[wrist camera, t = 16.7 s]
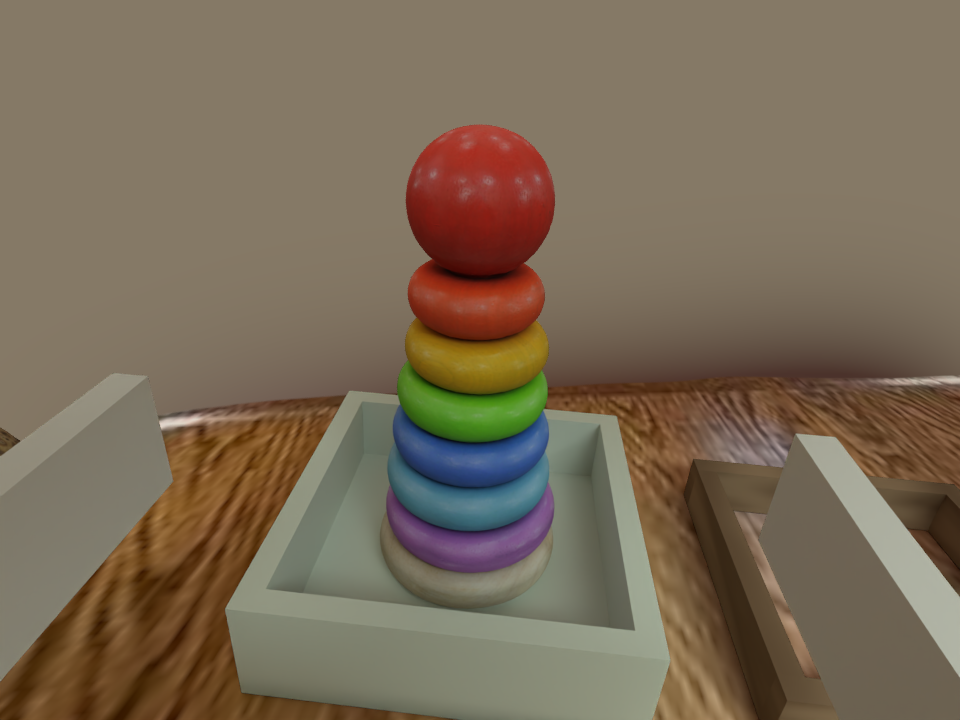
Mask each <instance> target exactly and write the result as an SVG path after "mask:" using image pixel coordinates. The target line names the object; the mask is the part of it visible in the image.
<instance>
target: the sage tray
mask: <svg viewBox="0 0 960 720" xmlns="http://www.w3.org/2000/svg"><path fill="white" fill-rule="evenodd" d="M399 405H400V402H399V398H398V395H391V394H380V393H370V392H359V391H349V392H348V394H347V396H346V397H345V399H344V401H343V403H342V404H341V406H340V408H339V410H338V411H337V413H336V415H335V417H334V418H333V420H332V422H331V424H330V425H329V427H328V429H327V431H326V433H325V434H324V436H323V438H322V440H321V441H320V443H319V445H318V447H317V448H316V450H315V452H314V454H313V455H312V457H311V459H310V461H309V462H308V464H307V466H306V468H305V469H304V471H303V473H302V475H301V476H300V478H299V480H298V482H297V483H296V485H295V487H294V489H293V490H292V492H291V494H290V496H289V497H288V499H287V501H286V503H285V504H284V506H283V508H282V510H281V511H280V513H279V515H278V517H277V518H276V520H275V522H274V524H273V526H272V527H271V529H270V531H269V533H268V534H267V536H266V538H265V540H264V541H263V543H262V545H261V547H260V548H259V550H258V552H257V554H256V555H255V557H254V559H253V561H252V562H251V564H250V566H249V568H248V569H247V571H246V573H245V575H244V576H243V578H242V580H241V582H240V583H239V585H238V587H237V589H236V590H235V592H234V594H233V596H232V597H231V599H230V601H229V603H228V604H227V606H226V608H225V612H226V617H227V622H228V627H229V632H230V637H231V642H232V647H233V652H234V657H235V663H236V668H237V673H238V678H239V683H240V688H241V693H247V694H256V695H264V696H272V697H280V698H288V699H296V700H304V701H313V702H321V703H329V704H337V705H345V706H353V707H362V708H370V709H378V710H386V711H394V712H402V713H410V714H419V715H427V716H435V717H443V718H451V719H459V720H652V719H653V716H654V712H655V709H656V706H657V703H658V699H659V696H660V693H661V690H662V686H663V683H664V680H665V677H666V673H667V670H668V667H669V664H670V656H669V651H668V647H667V642H666V638H665V633H664V629H663V624H662V620H661V615H660V610H659V606H658V601H657V597H656V592H655V588H654V583H653V579H652V574H651V570H650V565H649V560H648V556H647V551H646V547H645V542H644V538H643V533H642V529H641V524H640V520H639V515H638V510H637V506H636V501H635V497H634V492H633V488H632V483H631V479H630V474H629V470H628V465H627V460H626V456H625V451H624V447H623V442H622V438H621V433H620V429H619V424H618V420H617V416H612V415H601V414H591V413H580V412H570V411H559V410H549V409H544V410H543V411H544V413H545V416H546V418H547V422H548V426H549V440H548V444H547V447H546V450H545V452H546V454H547V457H548V461H549V480H548V483H549V485H550V487H551V490H552V493H553V497H554V507H555V508H554V517H553V521H552V525H551V526H552V531H553V549H552V553H551V557H550V560H549V562H548V565H547V567H546V569H545V570H544V572H543V574H542V575H541V577H540V578H539V579H538V580H537V581H536V583H535V584H534V585H533V586H532V587H530V588H529V589H528V590H527V591H526V592H524V593H523V594H521V595H520V596H518V597H516V598H514V599H512V600H509V601H507V602H504V603H501V604H497V605H494V606H489V607H482V608H471V609H466V608H453V607H447V606H443V605H439V604H435V603H432V602H429V601H427V600H424V599H422V598H421V597H419V596H417V595H415V594H413V593H412V592H411V591H409V590H408V589H406V588H405V587H404V586H403V585H402V584H401V583H400V582H399V581H398V580H397V579H396V578H395V577H394V575H393V574H392V573H391V571H390V570H389V568H388V566H387V564H386V562H385V560H384V557H383V554H382V550H381V545H380V529H381V524H382V520H383V517H384V514H385V512H386V498H387V493H388V489H389V486H390V483H389V479H388V473H387V465H388V457H389V454H390V450H391V448H392V446H393V444H394V442H395V441H394V436H393V420H394V416H395V413H396V411H397V408H398V406H399Z"/></svg>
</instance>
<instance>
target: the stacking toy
mask: <svg viewBox="0 0 960 720" xmlns="http://www.w3.org/2000/svg"><path fill="white" fill-rule="evenodd" d="M554 206H555V194H554V185H553V181H552V177H551V174H550V172H549V169H548V167H547V165H546V163H545V161H544V159H543V158H542V156H541V155H540V154H539V153H538V152H537V150H536V149H535V148H534V147H533V146H532V145H531V144H530V143H529V142H528V141H527V140H525V139H524V138H523V137H521V136H520V135H518V134H516V133H514V132H511V131H509V130H507V129H504V128H500V127H496V126H490V125H469V126H463V127H459V128H456V129H453V130H451V131H448V132H446V133H444V134H443V135H441V136H440V137H438V138H437V139H436V140H434V141H433V142H432V143H430V144H429V145H428V146H427V147H426V149H424V151H423V152H422V153H421V154H420V156H419V158H418V159H417V161H416V162H415V165H414V166H413V168H412V171H411V174H410V177H409V180H408V185H407V192H406V209H407V215H408V220H409V223H410V226H411V229H412V232H413V234H414V236H415V238H416V240H417V241H418V243H419V245H420V246H421V247H422V248H423V250H424V251H425V252H426V253H427V254H428V255H429V256H430V257H431V258H432V260H430V261H428V262H426V263H425V264H423V265H422V266H420V267H419V268H418V269H417V270H416V271H415V273H414V274H413V276H412V277H411V280H410V283H409V287H408V300H409V304H410V307H411V309H412V311H413V313H414V315H415V316H416V317H417V318H416V319H415V320H414V321H413V322H412V324H411V325H410V327H409V329H408V331H407V334H406V339H405V351H406V355H407V358H408V361H407V362H406V363H405V365H404V366H403V367H402V369H401V372H400V374H399V377H398V384H397V390H398V391H397V392H398V398H399V402H400V405H399V406H398V408H397V411H396V413H395V416H394V420H393V436H394V441H395V442H394V444H393V446H392V448H391V450H390V454H389V457H388V465H387V473H388V479H389V483H390V486H389V489H388V493H387V498H386V512H385V514H384V517H383V520H382V524H381V529H380V545H381V550H382V554H383V557H384V560H385V562H386V564H387V566H388V568H389V570H390V571H391V573H392V574H393V575H394V577H395V578H396V579H397V580H398V581H399V582H400V583H401V584H402V585H403V586H404V587H405V588H406V589H408V590H409V591H411V592H412V593H413V594H415V595H417V596H419V597H421V598H422V599H424V600H427V601H429V602H432V603H435V604H439V605H443V606H447V607H453V608H466V609H471V608H482V607H489V606H494V605H497V604H501V603H504V602H507V601H509V600H512V599H514V598H516V597H518V596H520V595H521V594H523V593H524V592H526V591H527V590H528V589H529V588H530V587H532V586H533V585H534V584H535V583H536V581H537V580H538V579H539V578H540V577H541V575H542V574H543V572H544V570H545V569H546V567H547V565H548V562H549V560H550V557H551V553H552V549H553V531H552V526H551V525H552V521H553V517H554V508H555V507H554V497H553V493H552V490H551V487H550V485H549V483H548V480H549V461H548V457H547V454H546V452H545V450H546V447H547V444H548V440H549V426H548V422H547V418H546V416H545V413H544V411H543V410H544V407H545V404H546V401H547V396H548V387H547V382H546V378H545V376H544V373H543V371H542V369H543V367H544V365H545V364H546V361H547V358H548V354H549V344H548V339H547V336H546V333H545V331H544V330H543V328H542V326H541V325H540V324H539V323H538V322H537V321H536V319H537V318H538V316H539V315H540V313H541V311H542V308H543V304H544V301H545V292H544V287H543V284H542V282H541V279H540V278H539V276H538V275H537V274H536V273H535V272H534V271H533V269H531V268H530V267H529V266H527V265H525V264H524V262H526V261H527V260H528V259H529V258H530V257H531V256H532V255H534V254H535V252H536V251H537V250H538V248H539V247H540V245H541V244H542V243H543V241H544V239H545V238H546V236H547V234H548V232H549V229H550V225H551V223H552V220H553V215H554Z"/></svg>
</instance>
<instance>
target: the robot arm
mask: <svg viewBox="0 0 960 720" xmlns="http://www.w3.org/2000/svg"><path fill="white" fill-rule="evenodd" d="M172 482H173V478H172V474H171V470H170V466H169V461H168V457H167V453H166V449H165V445H164V441H163V436H162V432H161V428H160V424H159V420H158V415H157V411H156V407H155V403H154V399H153V395H152V390H151V387H150V382H149V378H148V376H140V375H129V374H117V373H112V374H111V375H110V376H108V377H107V378H105V379H104V380H103V381H102V382H100V383H99V384H97V385H96V386H95V387H93V388H92V389H91V390H89V391H88V392H87V393H85V394H84V395H83V396H81V397H80V398H79V399H77V400H76V401H75V402H73V403H72V404H71V405H69V406H68V407H67V408H65V409H64V410H62V411H61V412H60V413H58V414H57V415H56V416H54V417H53V418H52V419H50V420H49V421H47V422H46V423H45V424H43V425H42V426H41V427H40V428H38V429H37V430H35V431H34V432H33V433H32V434H30V435H29V436H27V437H26V438H25V439H23V440H22V441H20V442H19V443H18V444H16V445H15V446H14V447H12V448H11V449H10V450H8V451H7V452H6V453H4V454H3V455H2V456H0V681H1V680H2V679H3V678H4V677H5V675H6V674H7V673H8V672H9V671H10V670H11V668H12V667H13V666H14V665H15V664H16V663H17V662H18V660H19V659H20V658H21V657H22V656H23V655H24V653H25V652H26V651H27V650H28V649H29V648H30V647H31V645H32V644H33V643H34V642H35V641H36V640H37V638H38V637H39V636H40V635H41V634H42V633H43V631H44V630H45V629H46V628H47V627H48V626H49V625H50V623H51V622H52V621H53V620H54V619H55V618H56V616H57V615H58V614H59V613H60V612H61V611H62V609H63V608H64V607H65V606H66V605H67V604H68V603H69V601H70V600H71V599H72V598H73V597H74V596H75V594H76V593H77V592H78V591H79V590H80V589H81V587H82V586H83V585H84V584H85V583H86V582H87V581H88V579H89V578H90V577H91V576H92V575H93V574H94V572H95V571H96V570H97V569H98V568H99V567H100V566H101V564H102V563H103V562H104V561H105V560H106V559H107V557H108V556H109V555H110V554H111V553H112V552H113V550H114V549H115V548H116V547H117V546H118V545H119V544H120V542H121V541H122V540H123V539H124V538H125V537H126V535H127V534H128V533H129V532H130V531H131V530H132V528H133V527H134V526H135V525H136V524H137V523H138V522H139V520H140V519H141V518H142V517H143V516H144V515H145V513H146V512H147V511H148V510H149V509H150V508H151V506H152V505H153V504H154V503H155V502H156V501H157V500H158V498H159V497H160V496H161V495H162V494H163V493H164V491H165V490H166V489H167V488H168V487H169V486H170V484H171V483H172ZM758 540H759V542H760V544H761V547H762V549H763V551H764V553H765V555H766V558H767V560H768V562H769V564H770V567H771V569H772V571H773V573H774V575H775V578H776V580H777V582H778V584H779V587H780V589H781V591H782V593H783V595H784V598H785V600H786V602H787V604H788V607H789V609H790V611H791V613H792V615H793V618H794V620H795V622H796V624H797V627H798V629H799V631H800V633H801V636H802V638H803V640H804V642H805V644H806V647H807V649H808V651H809V653H810V656H811V658H812V660H813V662H814V664H815V667H816V669H817V671H818V673H819V676H820V678H821V680H822V682H823V684H824V687H825V689H826V691H827V693H828V696H829V698H830V700H831V702H832V704H833V707H834V709H835V711H836V713H837V716H838V718H839V720H960V597H959V596H958V594H957V593H956V592H955V591H954V589H953V588H952V587H951V585H950V584H949V583H948V582H947V580H946V579H945V578H944V576H943V575H942V574H941V572H940V571H939V570H938V569H937V567H936V566H935V565H934V563H933V562H932V561H931V560H930V558H929V557H928V556H927V554H926V553H925V552H924V550H923V549H922V548H921V547H920V545H919V544H918V543H917V541H916V540H915V539H914V538H913V536H912V535H911V534H910V532H909V531H908V530H907V529H906V527H905V526H904V525H903V523H902V522H901V521H900V519H899V518H898V517H897V516H896V514H895V513H894V512H893V510H892V509H891V508H890V507H889V505H888V504H887V503H886V501H885V500H884V499H883V497H882V496H881V495H880V494H879V492H878V491H877V490H876V488H875V487H874V486H873V485H872V483H871V482H870V481H869V479H868V478H867V477H866V475H865V474H864V473H863V472H862V470H861V469H860V468H859V466H858V465H857V464H856V463H855V461H854V460H853V459H852V457H851V456H850V455H849V454H848V452H847V451H846V450H845V448H844V447H843V446H842V444H841V443H840V442H839V441H838V439H837V438H836V437H828V436H817V435H806V434H795V436H794V439H793V442H792V445H791V448H790V450H789V453H788V456H787V459H786V462H785V465H784V468H783V470H782V473H781V476H780V479H779V482H778V485H777V487H776V490H775V493H774V496H773V499H772V502H771V505H770V507H769V510H768V513H767V516H766V519H765V522H764V525H763V527H762V530H761V533H760V536H759V539H758Z"/></svg>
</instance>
